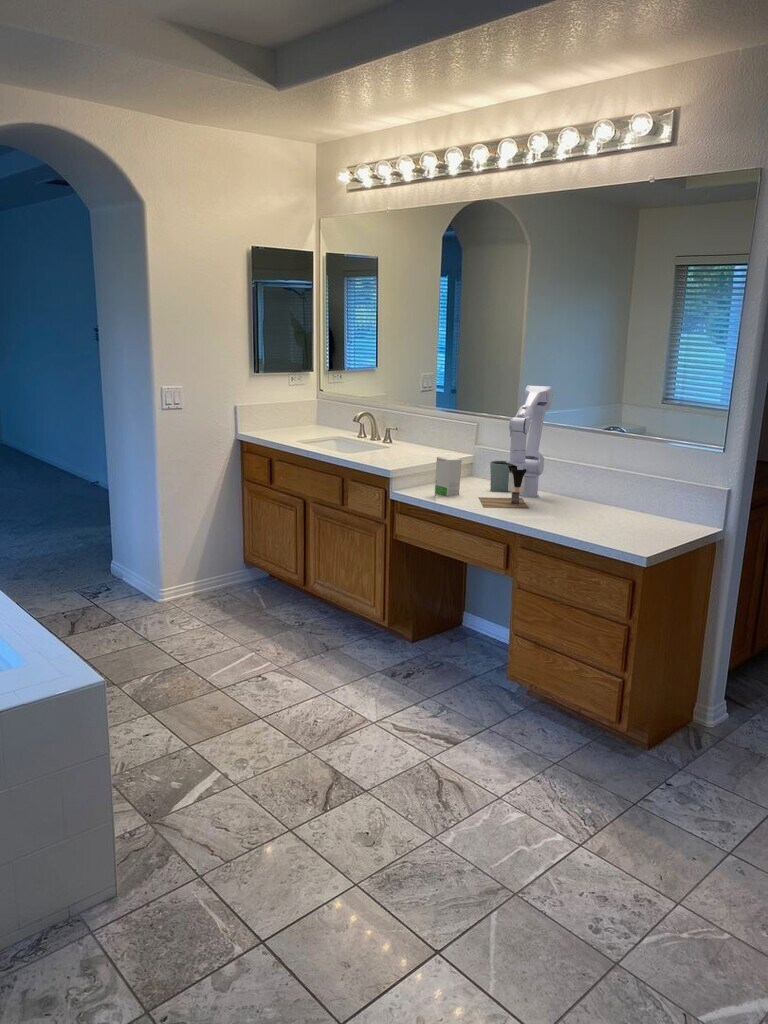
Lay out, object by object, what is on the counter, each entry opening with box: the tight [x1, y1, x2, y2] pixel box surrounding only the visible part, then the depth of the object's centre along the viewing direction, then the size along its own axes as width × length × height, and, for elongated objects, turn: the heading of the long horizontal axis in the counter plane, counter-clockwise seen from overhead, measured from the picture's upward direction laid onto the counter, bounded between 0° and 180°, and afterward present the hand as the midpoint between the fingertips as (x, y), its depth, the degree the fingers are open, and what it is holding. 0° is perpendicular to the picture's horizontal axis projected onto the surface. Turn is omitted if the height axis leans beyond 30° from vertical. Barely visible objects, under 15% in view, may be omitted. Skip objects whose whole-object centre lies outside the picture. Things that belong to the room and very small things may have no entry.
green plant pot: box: [489, 460, 512, 493], centre depth 327 cm, size 10×10×12 cm
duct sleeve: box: [508, 471, 525, 493], centre depth 301 cm, size 6×6×7 cm
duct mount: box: [478, 492, 531, 510], centre depth 303 cm, size 18×17×5 cm
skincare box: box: [434, 455, 463, 497], centre depth 316 cm, size 8×7×16 cm
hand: (516, 485), depth 302 cm, fingers closed on duct sleeve, 6 cm apart
